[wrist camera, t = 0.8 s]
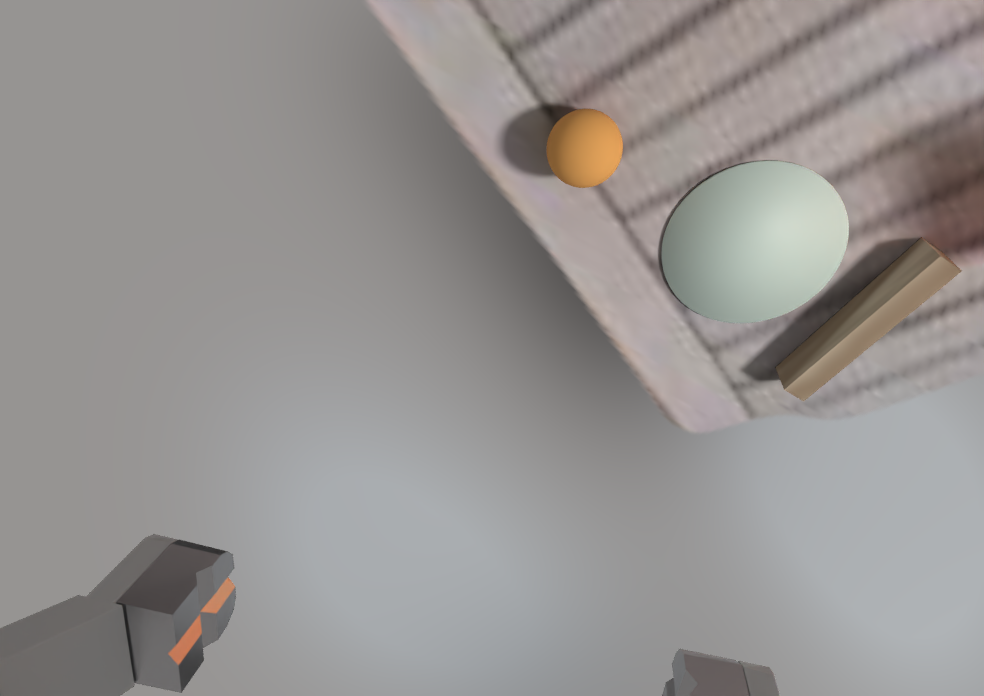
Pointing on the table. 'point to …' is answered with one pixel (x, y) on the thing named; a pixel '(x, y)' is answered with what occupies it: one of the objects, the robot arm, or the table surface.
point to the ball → (584, 148)
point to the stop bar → (866, 318)
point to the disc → (754, 241)
